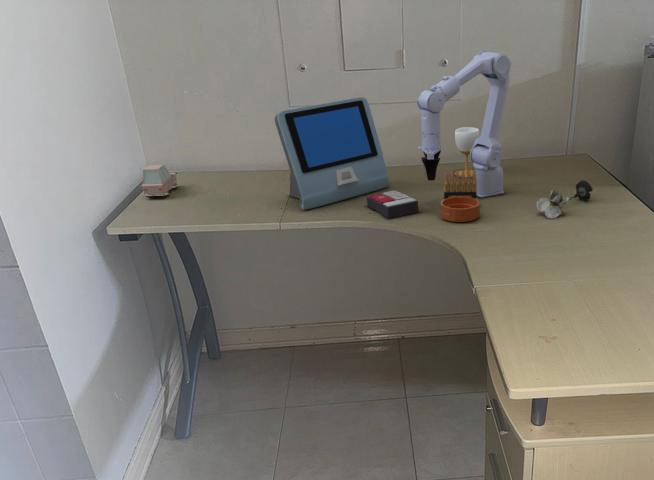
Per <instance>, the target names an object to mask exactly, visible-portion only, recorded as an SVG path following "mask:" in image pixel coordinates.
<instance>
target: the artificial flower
mask: <svg viewBox="0 0 654 480" xmlns="http://www.w3.org/2000/svg"><path fill="white" fill-rule="evenodd" d="M575 190H576V192H575V194H574V196H571V197H569V196H567V197H565V198H563V195H562V193H561V194H559V189H558V188H557V187H555V188H552V190H551V192H550V194H549V199H548V198H547V197H541V198H540V199H538V200H537V201H536V205H535V206H536V208H537V210H538V211H539V212H543V213H544V216H546V218H547V219H556V218H557V217H558V216H560V215H562V210H561V209H560V207H561V206H565V205H566V203H567V202H569V201H571V200H572V199H577V198H578V199H579V200H583V201H588V200H590V199H591V197H592V195H591V192H593V187H592V185H591V184H590V182H588V181H586V180H580V181H578V182H577V183H576V184H575Z"/></svg>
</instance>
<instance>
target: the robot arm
mask: <svg viewBox="0 0 654 480" xmlns="http://www.w3.org/2000/svg"><path fill="white" fill-rule="evenodd" d="M511 67H512V61H511V60H510V58H509V57H508V54H506V53H504V52H500V53H499V52H491V51H487V50H482V51H480V52H478V53H477V54H476V55H474V56H473V59H472V60H471V61H470V62H468V63H467V64H466V65H465V66H464V67H463V68H462V69H461V70H460V71H458V72H457V73H456V74H455V75H453V76H452V75H444V76H443V77H442V80H440V81H439V82H437V84H435V85H432V86H431V87H430V89H429V90H428V89H427V90H424V91H422V92H421V93H419V95H418V98H417V100H416V105H417V107H418V109H419V112H420V115H421V116H420V118H421V146H418V147H417V149H418V151H422V153H423V155H424V156H422V157H421V162H422V164H423V167H424V169H425V174H426V178H427V181H435V180H436V176H437V169H438V165H439V163H440V161H441V157H440V155H441V153H442V146H441V111H442V110H443V109H444V107H445V104H446V103H447V102H449V101H450V100H451V99H452V98H453V97H455V96H456V95H457V94H459V93H460V90H461V86H463V85H464V84H466V83H468V82H469V81H471V80H472V79H473V78H475V77H476V76H478V75H480V74H481V75H482V76H483V77H484V78H486V79H487V81H488V83H489V85H490V89H489V94H488V99H487V104H486V107H485V113H484V117H483V122H482V126H481V127H482V128H481V133H480V135H479V138H477V139H476V140H475V142H474V146H473V148H472V149H471V151H470V154H469V160H470V161H471V162H472V166H473V167H474V169H475V172H476V182H477V197H479V198H480V199H481V198H488V197H492V196H497V195H502V194H505V191H504V171H503V168H502V167H501V166H500V164H501V161H502V147H503V146H502V145H501V143H500V141H499V140H498V138H499V132H500V128H501V123H502V119H503V114H504V109H505V104H506V100H507V95H508V91H509V85H510V71H511ZM474 169H473V170H474Z"/></svg>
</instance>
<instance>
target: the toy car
mask: <svg viewBox="0 0 654 480" xmlns="http://www.w3.org/2000/svg"><path fill="white" fill-rule="evenodd" d="M176 185H177V186H176ZM173 186H174V187H175V186H176V187H175V188H173V189H172V190H177V189H178V182H177V173H176V172H170V171H168V169H167V168H166V166H165V165H164V164H149V165H146V167H144V168H143V169H142V184H141V189H142V192H143V194H144V195H145V194H148V195H164V194H165V193H168V192H169V190H170V189H171V188H172V187H173ZM164 197H170V192H169V194H167V195H165V196H164Z"/></svg>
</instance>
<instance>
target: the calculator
mask: <svg viewBox="0 0 654 480" xmlns="http://www.w3.org/2000/svg"><path fill="white" fill-rule="evenodd" d="M366 204H367V205H366V206H367V207H368V208H370V209H372V210H374V211H376V212H378V213H380V214H381V215H382V216H383V217H385V218H386V219H393V218H397V217H402V216H406V215H412V214H415V213H419V201H418V200H417V199H415V198H412V197H410V196H409V195H407V194H404V193H402V192H400V191H398V190H390V191H385V192H382V193H376V194H370V195H368V196H367V197H366Z"/></svg>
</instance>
